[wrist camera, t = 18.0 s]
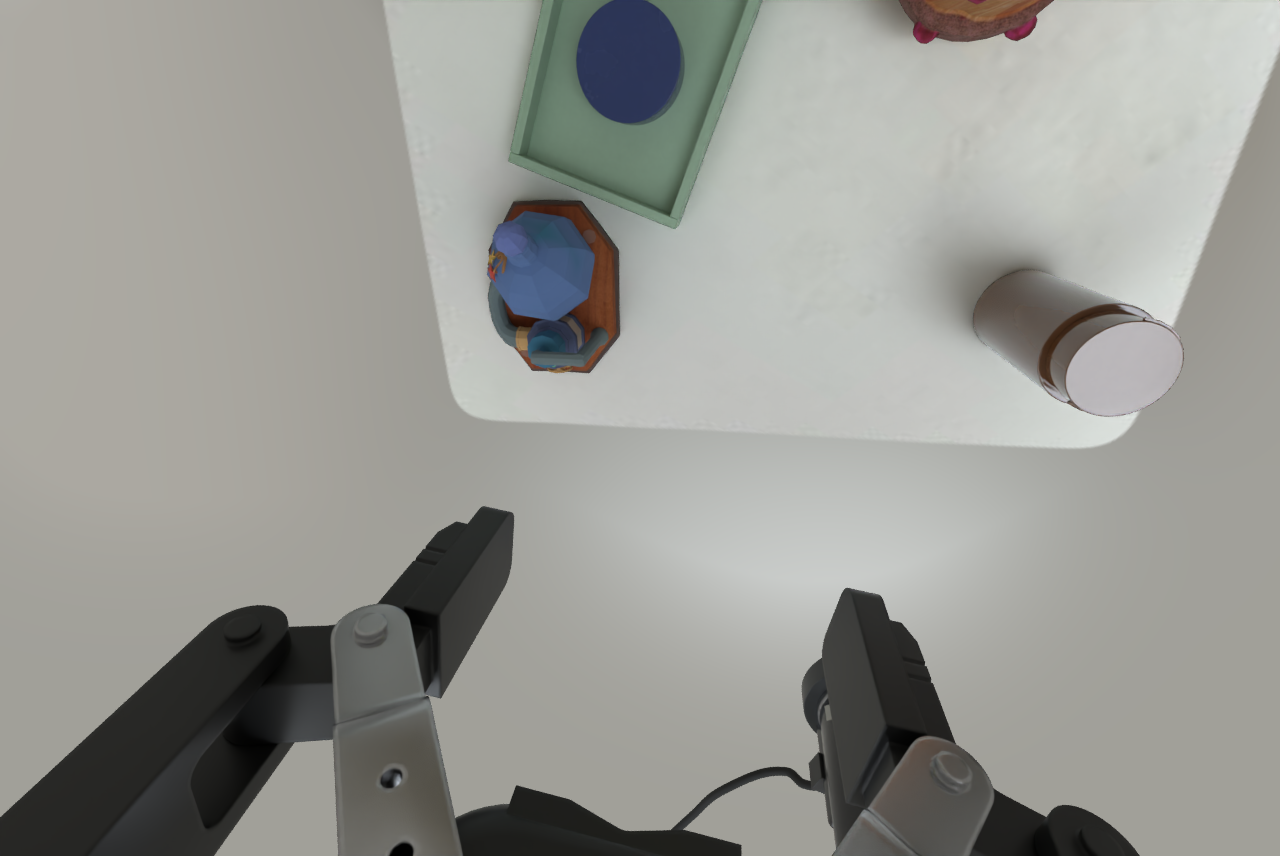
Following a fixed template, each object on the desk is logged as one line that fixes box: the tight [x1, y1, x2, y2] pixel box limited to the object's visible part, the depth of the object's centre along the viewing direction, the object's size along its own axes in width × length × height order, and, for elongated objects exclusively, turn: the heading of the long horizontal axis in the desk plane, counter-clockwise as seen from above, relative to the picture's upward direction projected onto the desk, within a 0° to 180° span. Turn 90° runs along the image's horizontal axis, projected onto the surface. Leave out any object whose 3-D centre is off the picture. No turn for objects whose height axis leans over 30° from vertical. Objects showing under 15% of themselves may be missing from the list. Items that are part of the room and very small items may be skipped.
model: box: [487, 200, 620, 373], centre depth 36 cm, size 12×9×9 cm
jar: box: [973, 270, 1184, 416], centre depth 30 cm, size 5×5×11 cm
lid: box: [576, 0, 685, 125], centre depth 32 cm, size 6×6×2 cm
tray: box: [508, 0, 762, 229], centre depth 32 cm, size 14×11×2 cm
